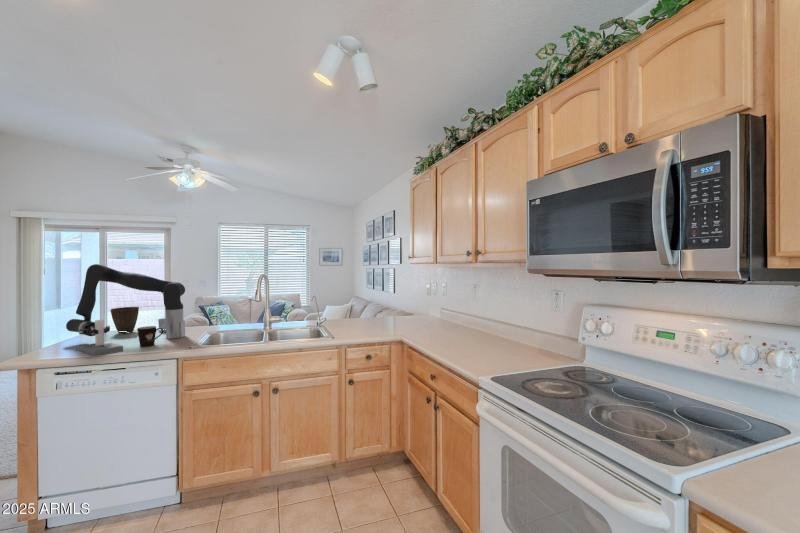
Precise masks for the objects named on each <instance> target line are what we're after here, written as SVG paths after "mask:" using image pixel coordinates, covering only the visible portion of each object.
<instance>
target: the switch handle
mask: <svg viewBox="0 0 800 533" xmlns="http://www.w3.org/2000/svg"><path fill="white" fill-rule="evenodd" d="M94 322H95V329H96V330H98V334H95V336H94V337H95V338H94V339H95V343H94V344H96V346H99V345H104V342H105V333H104V327H105V325H104V319H96V320H94Z"/></svg>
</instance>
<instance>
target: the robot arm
mask: <svg viewBox="0 0 800 533" xmlns="http://www.w3.org/2000/svg"><path fill="white" fill-rule="evenodd" d="M100 282H108V283H114V284H117V285H118V284H119V285H121V286H123V287H126V288H129V289H134V290H138V291H145V292H156V293H157V292H158V293H162V296H163V298H162V299H163V304H164V308H165V318H166V332H165V339H180V338H181V339H182V338H184V337H185V336H186V322H185V321H186V320H185V319H184V304H183V303H182V301H181V297H182V296H183V295H184V294H185V292H186V288H185V286H184V285H183V283H181V282H176V281H169V280H162V279H160V278H156V277H153V276H148V275H146V274H142V273H138V272H137V273H136V272H131V271H129V272H127V271H120V270H117V269H113V268H111V267H108V266H106V265H103V264H98V263H95V264H91V265H90V266H89V267H87V270H86V272H85V279H84V284H83V290H82V294H81V297H80V300H79V302H78V305H77V308H76V309H75V310H76V311H75V313H76V314H77V315H78V316H81V317H83V319H78V318H72V319H69V320H68V321H67V323H66V324H65V327H66V330H67V331H69V332H72V333H78V334H79V335H83V336H87V337H95V334H98V330H96V329H95V321H92V314H93V311H94V308H95V305H96V300H97V293H96V292H97V287H98V284H99V283H100ZM110 330H111V325H105V326H104V334H107V333H108V332H110Z"/></svg>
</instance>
